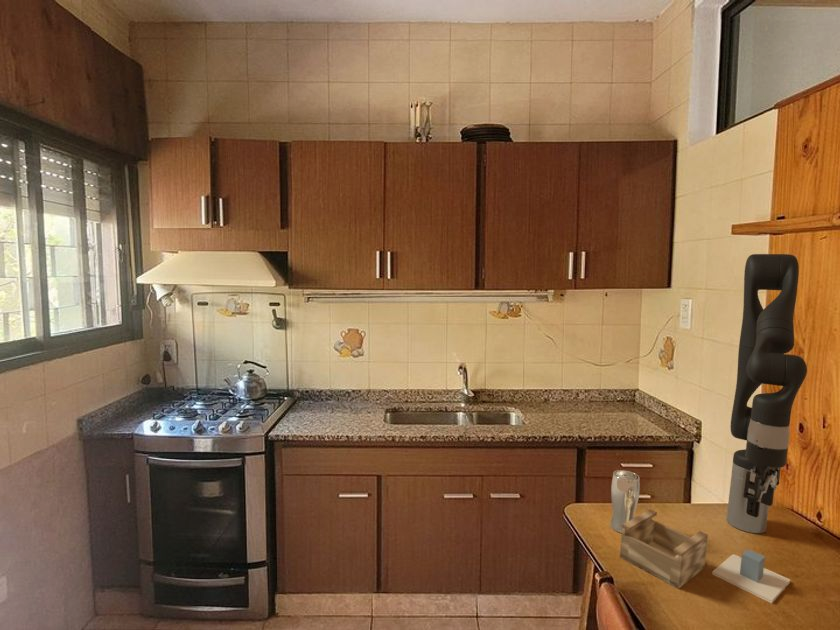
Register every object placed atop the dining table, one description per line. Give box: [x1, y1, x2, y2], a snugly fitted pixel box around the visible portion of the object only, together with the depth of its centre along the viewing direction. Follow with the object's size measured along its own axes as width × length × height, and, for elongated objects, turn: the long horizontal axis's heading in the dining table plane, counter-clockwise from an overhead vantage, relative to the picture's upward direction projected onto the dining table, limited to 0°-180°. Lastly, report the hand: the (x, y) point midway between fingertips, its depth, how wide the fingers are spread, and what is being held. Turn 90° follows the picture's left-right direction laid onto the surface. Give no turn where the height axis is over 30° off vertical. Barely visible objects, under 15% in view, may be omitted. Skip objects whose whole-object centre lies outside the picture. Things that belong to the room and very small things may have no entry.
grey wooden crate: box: [619, 509, 709, 589], centre depth 116 cm, size 13×14×8 cm
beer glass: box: [609, 469, 641, 534], centre depth 131 cm, size 7×7×15 cm
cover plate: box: [711, 548, 791, 604], centre depth 112 cm, size 12×12×6 cm
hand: (759, 509), depth 110 cm, fingers open, 8 cm apart
